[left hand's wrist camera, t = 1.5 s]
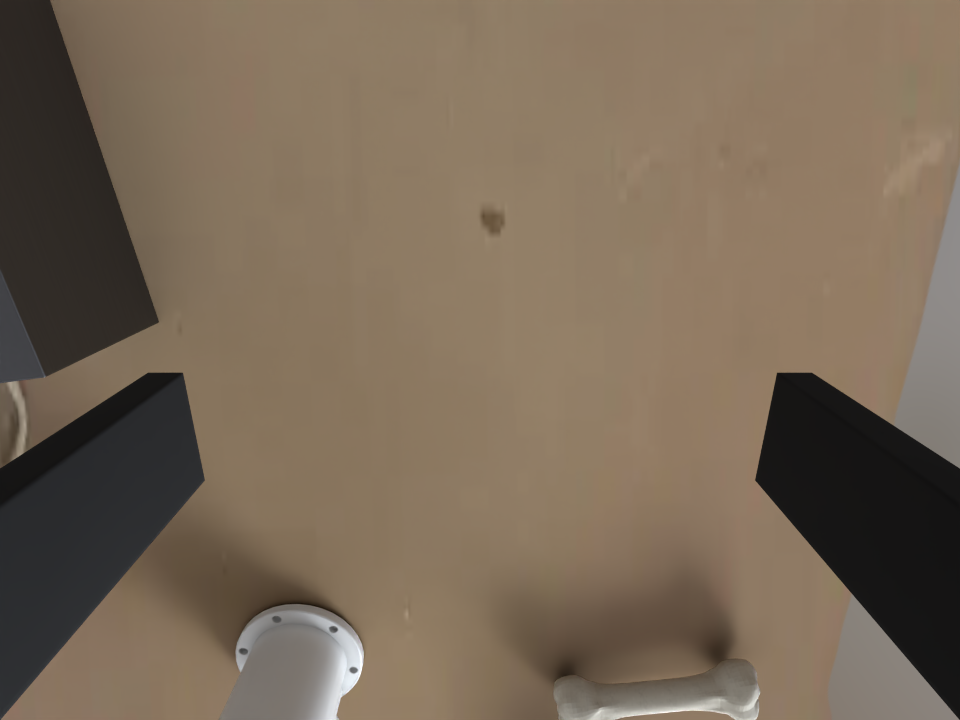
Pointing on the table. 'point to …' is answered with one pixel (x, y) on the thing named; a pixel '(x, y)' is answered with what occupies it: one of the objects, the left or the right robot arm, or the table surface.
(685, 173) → the table surface
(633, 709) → the dog toy
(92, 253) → the box
